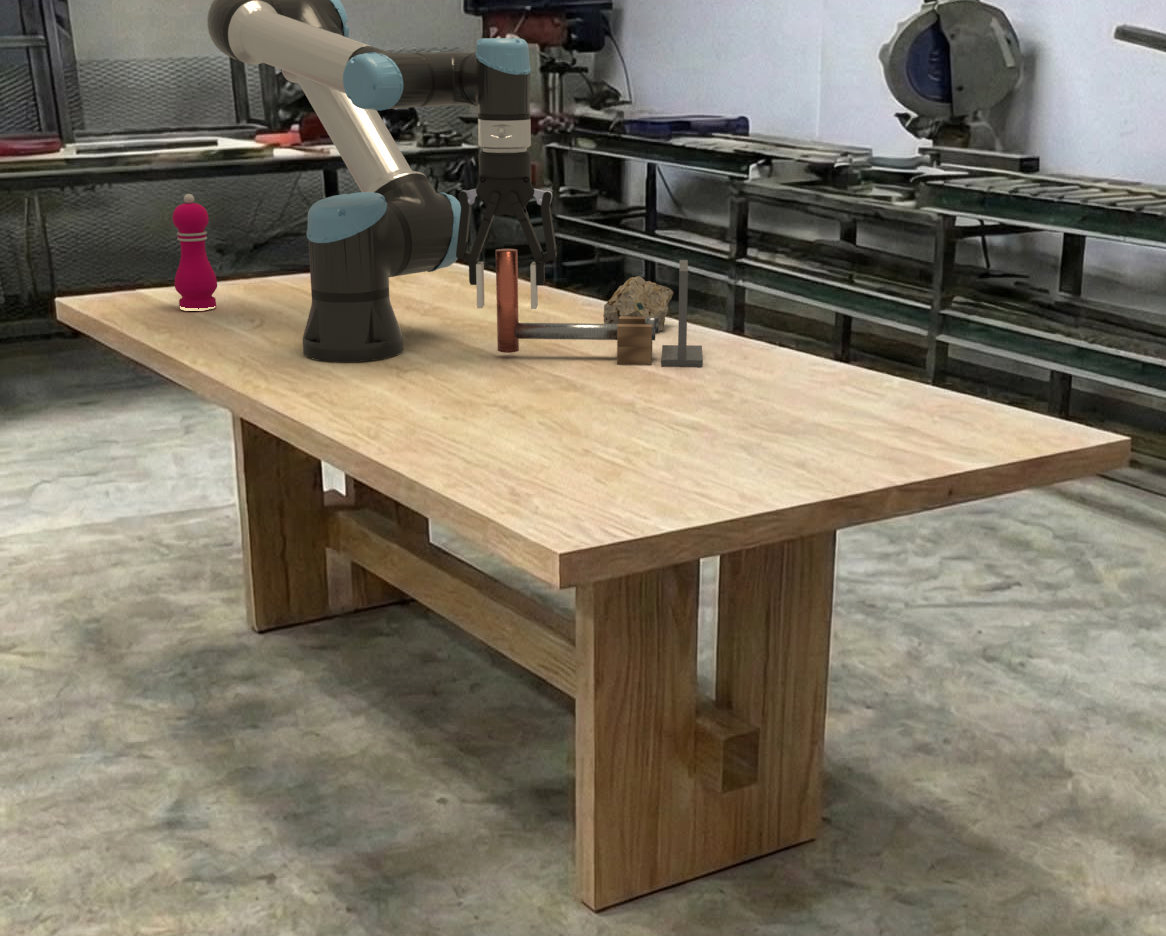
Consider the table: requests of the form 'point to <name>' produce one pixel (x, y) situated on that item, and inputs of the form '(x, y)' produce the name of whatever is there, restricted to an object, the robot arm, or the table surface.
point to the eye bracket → (682, 332)
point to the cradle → (634, 341)
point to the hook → (513, 330)
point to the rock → (638, 301)
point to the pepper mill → (193, 257)
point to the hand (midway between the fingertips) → (507, 306)
